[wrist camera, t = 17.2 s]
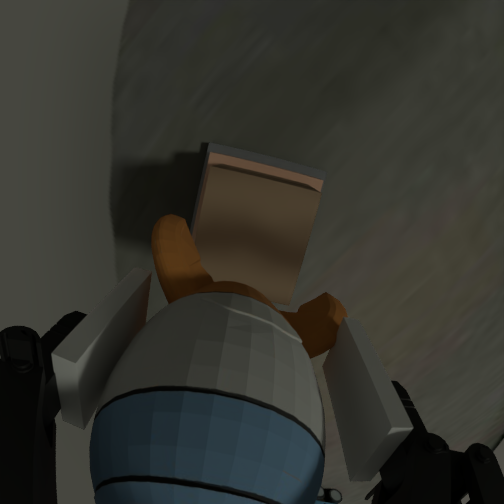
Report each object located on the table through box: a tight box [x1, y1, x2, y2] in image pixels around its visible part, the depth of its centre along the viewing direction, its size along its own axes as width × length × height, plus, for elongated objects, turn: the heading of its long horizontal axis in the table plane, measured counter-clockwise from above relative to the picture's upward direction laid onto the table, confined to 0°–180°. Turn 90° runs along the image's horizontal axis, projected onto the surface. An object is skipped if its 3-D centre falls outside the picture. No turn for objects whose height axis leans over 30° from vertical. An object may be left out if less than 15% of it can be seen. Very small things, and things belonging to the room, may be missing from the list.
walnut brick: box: [195, 164, 322, 306], centre depth 30 cm, size 10×9×8 cm
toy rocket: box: [90, 214, 348, 504], centre depth 11 cm, size 10×11×15 cm
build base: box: [190, 142, 327, 243], centre depth 36 cm, size 14×14×5 cm
